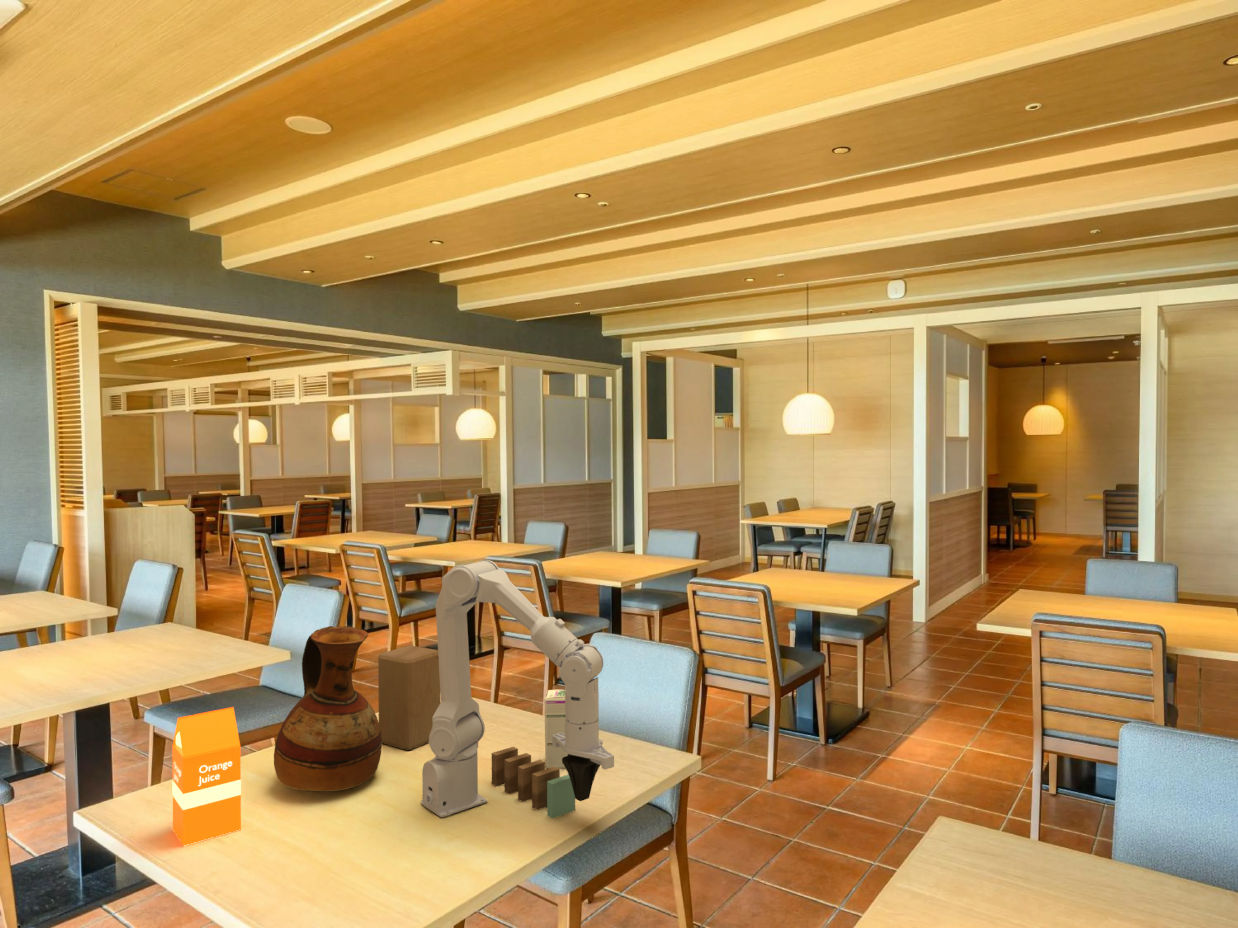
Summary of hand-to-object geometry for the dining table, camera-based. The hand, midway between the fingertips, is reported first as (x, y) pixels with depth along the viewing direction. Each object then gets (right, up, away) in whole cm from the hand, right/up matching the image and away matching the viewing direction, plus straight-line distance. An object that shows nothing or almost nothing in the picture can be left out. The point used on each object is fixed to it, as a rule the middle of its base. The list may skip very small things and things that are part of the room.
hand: (582, 798), depth 133 cm
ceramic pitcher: (-50, -5, +18) cm, 54 cm away
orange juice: (-64, -5, -1) cm, 64 cm away
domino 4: (-7, -5, +8) cm, 11 cm away
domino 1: (-16, -5, +18) cm, 24 cm away
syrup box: (-6, -5, +27) cm, 28 cm away
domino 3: (-10, -5, +11) cm, 16 cm away
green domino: (-4, -5, +4) cm, 8 cm away
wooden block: (-40, -5, +40) cm, 57 cm away
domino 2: (-13, -5, +15) cm, 20 cm away
